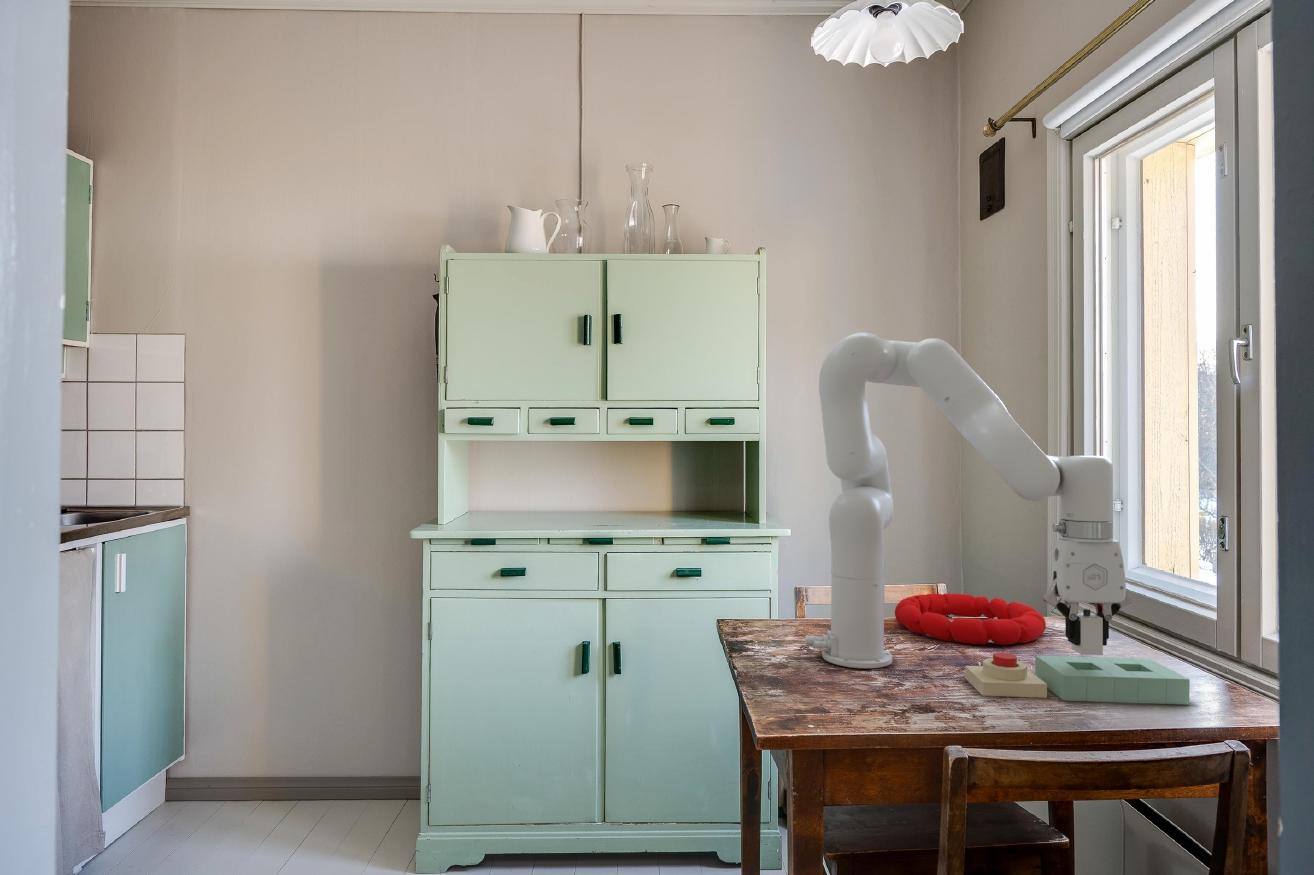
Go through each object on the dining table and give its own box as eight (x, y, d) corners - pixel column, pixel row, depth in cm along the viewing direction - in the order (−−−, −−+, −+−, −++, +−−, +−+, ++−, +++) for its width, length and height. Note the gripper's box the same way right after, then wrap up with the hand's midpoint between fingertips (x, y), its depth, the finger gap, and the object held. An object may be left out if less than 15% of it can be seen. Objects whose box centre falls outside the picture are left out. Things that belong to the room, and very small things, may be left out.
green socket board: (1063, 700, 124) (1063, 675, 124) (1034, 678, 135) (1035, 655, 135) (1189, 704, 123) (1189, 679, 123) (1150, 682, 134) (1150, 658, 134)
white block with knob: (1081, 654, 128) (1080, 611, 128) (1071, 649, 131) (1071, 607, 131) (1102, 655, 127) (1102, 611, 127) (1092, 649, 131) (1092, 607, 131)
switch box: (982, 695, 126) (982, 670, 126) (964, 678, 135) (965, 655, 135) (1047, 698, 126) (1047, 672, 125) (1025, 680, 134) (1025, 656, 134)
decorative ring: (1065, 627, 152) (1025, 584, 181) (902, 619, 158) (889, 578, 187) (1064, 664, 152) (1024, 615, 182) (901, 654, 158) (888, 608, 188)
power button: (997, 669, 129) (997, 658, 129) (989, 662, 132) (989, 652, 132) (1020, 669, 128) (1020, 659, 128) (1011, 663, 132) (1012, 652, 132)
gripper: (1043, 533, 126) (1044, 648, 126) (1151, 534, 125) (1152, 650, 125) (1025, 528, 134) (1025, 636, 134) (1127, 528, 132) (1127, 638, 132)
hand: (1087, 642), depth 129 cm, fingers closed on white block with knob, 3 cm apart
